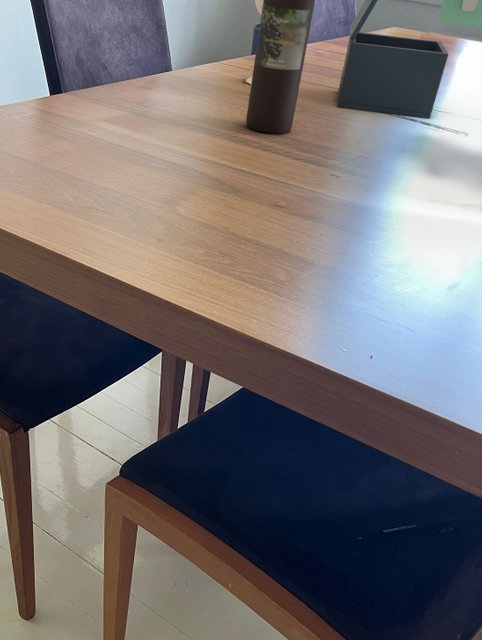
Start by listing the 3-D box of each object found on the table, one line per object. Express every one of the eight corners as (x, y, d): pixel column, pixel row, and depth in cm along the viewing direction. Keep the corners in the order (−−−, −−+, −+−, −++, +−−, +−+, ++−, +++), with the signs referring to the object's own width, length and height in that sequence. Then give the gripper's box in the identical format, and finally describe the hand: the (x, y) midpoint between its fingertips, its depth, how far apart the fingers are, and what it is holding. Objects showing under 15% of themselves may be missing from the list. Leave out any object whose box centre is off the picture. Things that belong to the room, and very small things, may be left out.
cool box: (424, 102, 133) (441, 41, 127) (429, 118, 124) (448, 54, 118) (338, 91, 135) (351, 31, 129) (337, 106, 126) (351, 42, 120)
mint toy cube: (475, 21, 99) (487, -18, 96) (481, 27, 95) (493, -14, 93) (438, 18, 100) (448, -21, 97) (441, 23, 96) (452, -17, 93)
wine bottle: (236, 126, 111) (271, -124, 93) (261, 119, 116) (299, -121, 97) (275, 137, 108) (319, -120, 89) (299, 129, 112) (346, -117, 94)
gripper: (547, -125, 79) (501, 20, 88) (514, -123, 95) (477, 0, 104) (487, -130, 80) (447, 15, 89) (464, -127, 96) (432, -4, 105)
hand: (463, 7), depth 97 cm, fingers closed on mint toy cube, 5 cm apart
